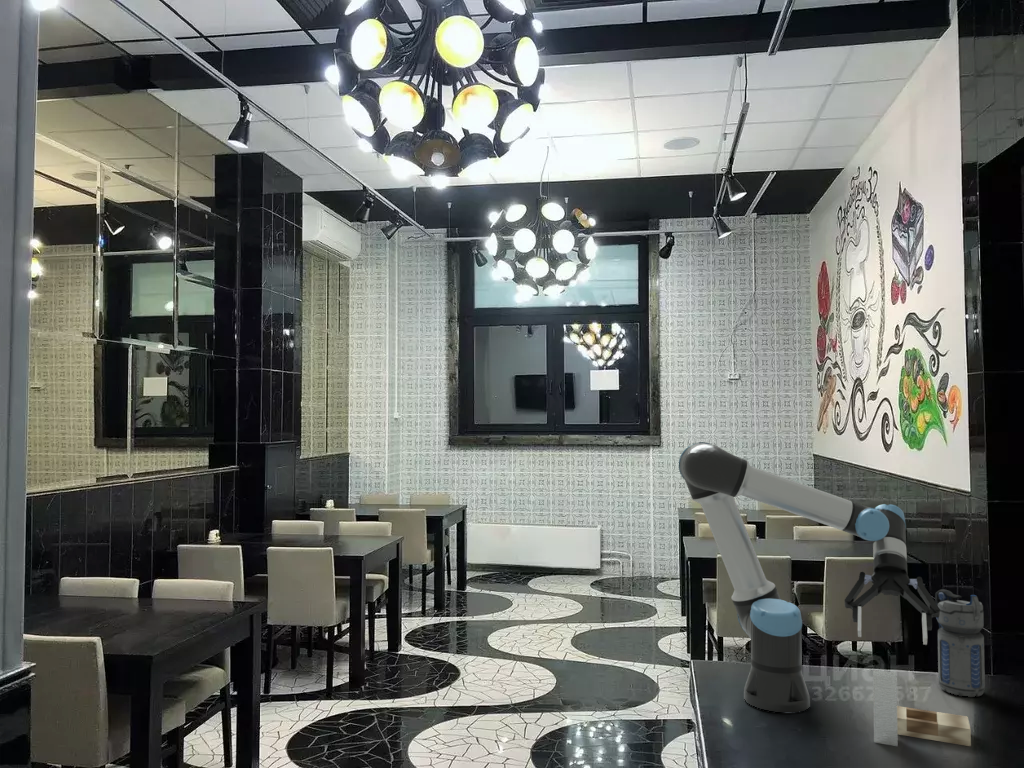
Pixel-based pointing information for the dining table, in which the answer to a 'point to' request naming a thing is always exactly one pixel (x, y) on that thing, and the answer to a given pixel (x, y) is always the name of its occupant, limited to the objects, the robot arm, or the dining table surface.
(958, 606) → the beverage bottle
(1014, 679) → the dining table surface
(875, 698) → the white square post
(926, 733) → the foot beam
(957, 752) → the dining table surface
